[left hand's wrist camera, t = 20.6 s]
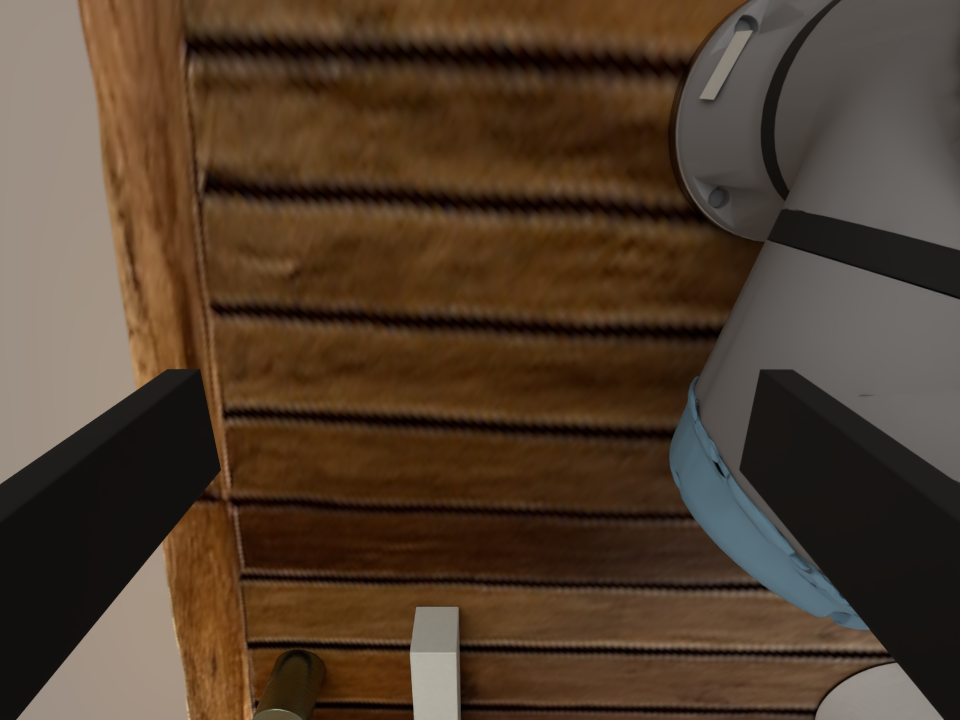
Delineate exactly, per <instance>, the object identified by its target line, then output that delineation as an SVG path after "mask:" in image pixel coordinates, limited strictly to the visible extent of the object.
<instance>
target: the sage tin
mask: <svg viewBox="0 0 960 720" xmlns="http://www.w3.org/2000/svg"><path fill="white" fill-rule="evenodd" d="M324 675H325V666H324V663H323V662H322V660H321V659H320V658H319V657H317V656H316V655H314V654H312V653H310V652H307V651H303V650H292V651H288V652H285V653H283V654H282V655H280V656H279V657H278V658H277V660H276V662H275V665H274V667H273V670H272V672H271V675H270V677H269V680H268V682H267V685H266V687H265V689H264V692H263V694H262V697H261V699H260V702H259V704H258V707H257V709H256V712H255V714H254V717H253V719H252V720H311V718H312V715H313V712H314V708H315V705H316V702H317V698H318V695H319V691H320V688H321V685H322V681H323V678H324Z"/></svg>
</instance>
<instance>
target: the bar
mask: <svg viewBox="0 0 960 720" xmlns="http://www.w3.org/2000/svg"><path fill="white" fill-rule="evenodd" d="M410 661H411V676H412V692H413V707H414V720H461V705H460V651H459V607H416V614H415V621H414V628H413V635H412V642H411V649H410Z"/></svg>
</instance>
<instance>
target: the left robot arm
mask: <svg viewBox="0 0 960 720" xmlns="http://www.w3.org/2000/svg"><path fill="white" fill-rule="evenodd" d="M669 148H670V157H671V162H672V166H673V170H674V173H675V176H676V179H677V181H678V184H679V186H680V188H681V190H682V192H683V194H684V195H685V197H686V199H687V200H688V201H689V203H690V204H691V205H692V207H693V208H694V209H695V210H696V211H697V212H698V213H699V214H700V215H701V216H702V217H703V218H705V219H706V220H707V221H708V222H710V223H711V224H713V225H714V226H716V227H718V228H720V229H722V230H724V231H726V232H729V233H731V234H734V235H737V236H740V237H744V238H747V239H751V240H756V241H762V242H765V243H764V245H763V247H762V249H761V251H760V253H759V255H758V257H757V260H756V262H755V264H754V266H753V268H752V270H751V272H750V274H749V276H748V278H747V280H746V282H745V284H744V286H743V288H742V290H741V292H740V294H739V296H738V298H737V300H736V302H735V305H734V307H733V309H732V311H731V313H730V315H729V317H728V319H727V321H726V323H725V325H724V327H723V329H722V331H721V333H720V335H719V337H718V339H717V341H716V343H715V345H714V348H713V350H712V352H711V354H710V356H709V358H708V360H707V362H706V364H705V366H704V368H703V370H702V372H701V374H700V375H699V376H696V377H695V378H694V380H693V381H692V383H691V385H690V387H689V391H688V402H687V404H686V407H685V409H684V412H683V414H682V416H681V419H680V421H679V424H678V426H677V428H676V431H675V433H674V436H673V438H672V441H671V445H670V452H669V461H670V469H671V472H672V475H673V478H674V481H675V483H676V485H677V487H678V488H679V490H680V495H681V498H682V500H683V501H684V503H685V505H686V506H687V508H688V510H689V511H690V513H691V514H692V515H693V517H694V518H695V520H696V521H697V522H698V523H699V525H700V526H701V527H702V528H703V530H704V531H705V532H706V533H707V534H708V535H709V537H710V538H711V539H712V540H713V541H714V542H715V543H716V544H717V545H718V546H719V547H720V548H721V549H722V550H723V551H724V552H725V553H726V554H727V555H728V556H729V557H730V558H731V559H732V560H733V561H734V562H736V563H737V564H738V565H739V566H740V567H741V568H742V569H744V570H745V571H746V572H747V573H748V574H750V575H751V576H752V577H753V578H755V579H756V580H757V581H758V582H760V583H761V584H762V585H764V586H765V587H767V588H768V589H769V590H771V591H772V592H774V593H775V594H777V595H778V596H780V597H781V598H783V599H785V600H786V601H788V602H789V603H791V604H793V605H795V606H796V607H798V608H800V609H802V610H804V611H806V612H808V613H810V614H812V615H814V616H816V617H825V616H829V617H830V618H831V619H832V620H833V621H834V622H836V623H837V624H838V625H840V626H844V627H848V628H852V629H857V630H871V632H872V633H873V634H874V635H875V636H876V638H877V639H878V640H879V641H880V643H881V644H882V645H883V646H884V647H885V649H886V650H887V651H888V652H889V654H890V655H891V656H892V657H893V658H894V660H895V661H896V662H897V663H898V664H899V666H900V667H901V668H902V669H903V671H904V672H905V673H906V674H907V675H908V677H909V678H910V679H911V680H912V682H913V683H914V684H915V685H916V686H917V688H918V689H919V690H920V691H921V693H922V694H923V695H924V696H925V697H926V699H927V700H928V701H929V702H930V704H931V705H932V706H933V707H934V708H935V710H936V711H937V712H938V713H939V714H940V716H941V717H942V718H943V719H944V720H960V0H748V1H746V2H745V3H743V4H742V5H740V6H739V7H737V8H736V9H735V10H733V11H732V12H731V13H730V14H728V15H727V16H726V17H725V18H724V19H723V20H722V21H721V22H719V23H718V24H717V25H716V27H715V28H714V29H713V30H712V31H711V32H710V33H709V34H708V35H707V37H706V38H705V39H704V40H703V42H702V43H701V44H700V46H699V47H698V49H697V50H696V52H695V53H694V55H693V56H692V58H691V60H690V62H689V63H688V65H687V67H686V69H685V71H684V73H683V76H682V78H681V80H680V82H679V85H678V88H677V91H676V94H675V98H674V102H673V105H672V110H671V116H670V125H669ZM785 245H786V246H785ZM220 471H221V468H220V463H219V458H218V453H217V448H216V444H215V439H214V434H213V429H212V425H211V420H210V415H209V410H208V405H207V401H206V396H205V391H204V386H203V381H202V377H201V372H200V369H167V370H166V371H164V372H163V373H161V374H160V375H158V376H157V377H155V378H154V379H152V380H151V381H150V382H148V383H147V384H145V385H144V386H142V387H141V388H139V389H138V390H137V391H135V392H134V393H132V394H131V395H129V396H128V397H126V398H125V399H123V400H122V401H121V402H119V403H118V404H116V405H115V406H113V407H112V408H110V409H109V410H107V411H106V412H105V413H103V414H102V415H100V416H99V417H97V418H96V419H94V420H93V421H91V422H90V423H89V424H87V425H86V426H84V427H83V428H81V429H80V430H78V431H77V432H75V433H74V434H73V435H71V436H70V437H68V438H67V439H65V440H64V441H62V442H61V443H60V444H58V445H57V446H55V447H54V448H52V449H51V450H49V451H48V452H46V453H45V454H44V455H42V456H41V457H39V458H38V459H36V460H35V461H33V462H32V463H31V464H29V465H28V466H26V467H25V468H23V469H22V470H20V471H19V472H17V473H16V474H14V475H13V476H12V477H10V478H9V479H7V480H6V481H4V482H3V483H1V484H0V720H16V719H17V718H18V717H19V716H20V714H21V713H22V712H23V711H24V710H25V708H26V707H27V706H28V705H29V704H30V702H31V701H32V700H33V699H34V697H35V696H36V695H37V694H38V693H39V691H40V690H41V689H42V688H43V686H44V685H45V684H46V683H47V682H48V680H49V679H50V678H51V677H52V675H53V674H54V673H55V672H56V671H57V669H58V668H59V667H60V666H61V664H62V663H63V662H64V661H65V660H66V658H67V657H68V656H69V655H70V654H71V652H72V651H73V650H74V649H75V647H76V646H77V645H78V644H79V643H80V641H81V640H82V639H83V638H84V636H85V635H86V634H87V633H88V632H89V630H90V629H91V628H92V627H93V625H94V624H95V623H96V622H97V621H98V619H99V618H100V617H101V616H102V614H103V613H104V612H105V611H106V610H107V608H108V607H109V606H110V605H111V604H112V602H113V601H114V600H115V599H116V597H117V596H118V595H119V594H120V593H121V591H122V590H123V589H124V588H125V586H126V585H127V584H128V583H129V582H130V580H131V579H132V578H133V577H134V575H135V574H136V573H137V572H138V571H139V569H140V568H141V567H142V566H143V564H144V563H145V562H146V561H147V560H148V558H149V557H150V556H151V555H152V553H153V552H154V551H155V550H156V549H157V547H158V546H159V545H160V544H161V543H162V541H163V540H164V539H165V538H166V536H167V535H168V534H169V533H170V532H171V530H172V529H173V528H174V527H175V525H176V524H177V523H178V522H179V521H180V519H181V518H182V517H183V516H184V514H185V513H186V512H187V511H188V510H189V508H190V507H191V506H192V505H193V504H194V502H195V501H196V500H197V499H198V497H199V496H200V495H201V494H202V493H203V491H204V490H205V489H206V488H207V486H208V485H209V484H210V483H211V482H212V480H213V479H214V478H215V477H216V475H217V474H218V473H219V472H220Z"/></svg>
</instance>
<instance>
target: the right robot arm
mask: <svg viewBox="0 0 960 720" xmlns="http://www.w3.org/2000/svg"><path fill="white" fill-rule="evenodd" d="M815 720H944V719H943V718H942V717H941V716H940V714H939V713H938V712H937V711H936V710H935V708H934V707H933V706H932V705H931V704H930V702H929V701H928V700H927V699H926V697H925V696H924V695H923V694H922V693H921V691H920V690H919V689H918V688H917V686H916V685H915V684H914V683H913V682H912V680H911V679H910V678H909V677H908V675H907V674H906V673H905V672H904V671H903V669H902V668H901V667H900V666H899V664H898V663H892V664H886V665H882V666H878V667H874V668H871V669H868V670H866V671H863V672H861V673H858V674H856V675H854V676H852V677H851V678H849V679H847V680H846V681H844V682H843V683H841V684H840V685H838V686H837V687H836V688H835V689H834V690H832V691H831V692H830V693H829V694H828V695H827V697H826V698H825V699H824V700H823V702H822V703H821V705H820V706H819V708H818V711H817V713H816V717H815Z"/></svg>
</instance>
